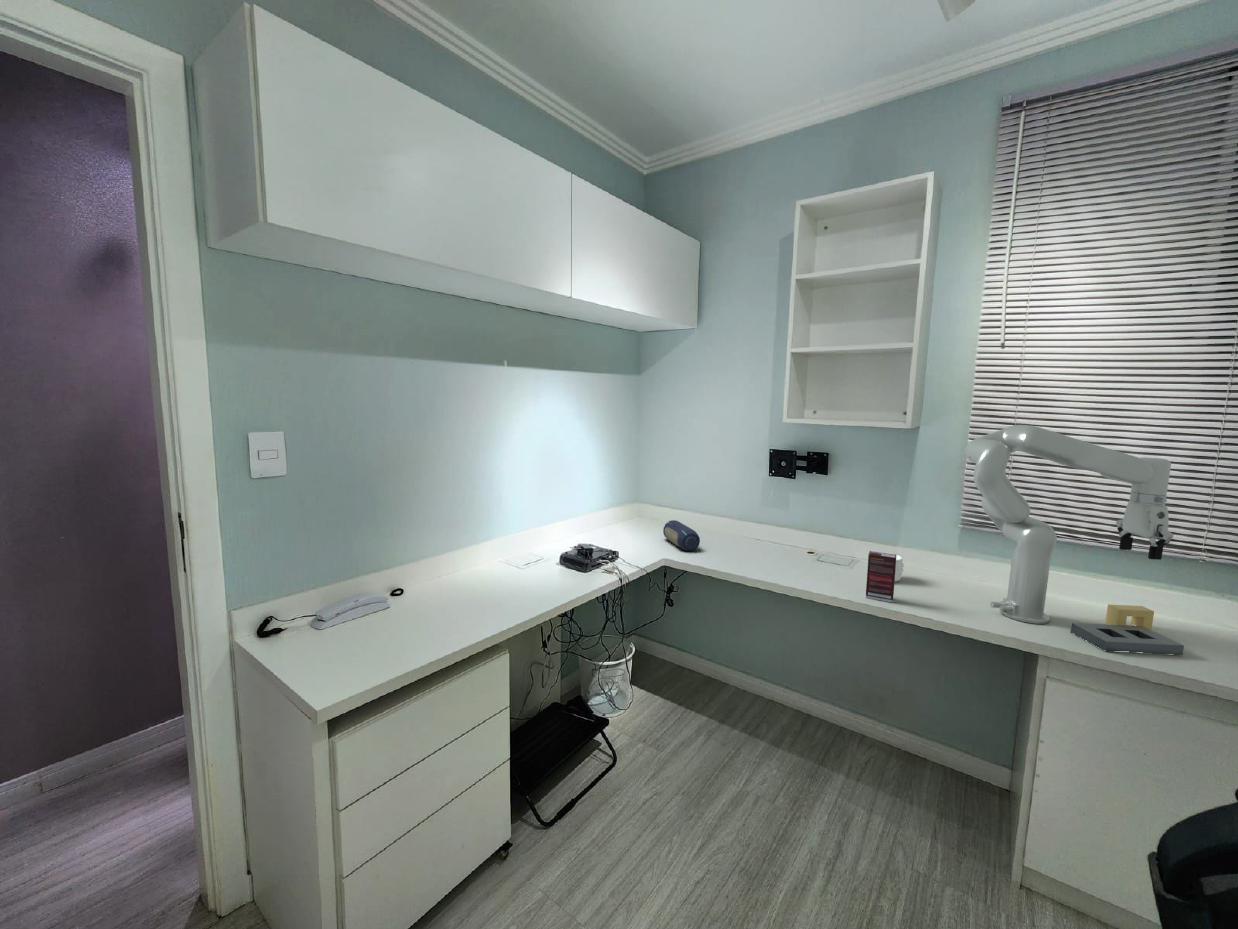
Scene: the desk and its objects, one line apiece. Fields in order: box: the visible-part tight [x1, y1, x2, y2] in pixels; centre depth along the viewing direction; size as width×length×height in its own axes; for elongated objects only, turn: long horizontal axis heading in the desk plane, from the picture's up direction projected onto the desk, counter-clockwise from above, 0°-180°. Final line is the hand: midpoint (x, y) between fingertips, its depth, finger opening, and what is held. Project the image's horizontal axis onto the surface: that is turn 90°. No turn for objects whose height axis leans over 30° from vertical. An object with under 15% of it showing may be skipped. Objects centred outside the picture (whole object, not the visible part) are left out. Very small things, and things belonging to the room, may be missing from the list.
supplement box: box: [865, 550, 897, 603], centre depth 178 cm, size 9×5×16 cm, turn 60°
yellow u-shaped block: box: [1104, 604, 1155, 630], centre depth 159 cm, size 10×4×6 cm, turn 85°
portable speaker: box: [663, 519, 701, 552], centre depth 239 cm, size 25×10×10 cm, turn 17°
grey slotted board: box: [1070, 622, 1185, 656], centre depth 148 cm, size 20×12×3 cm, turn 85°
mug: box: [888, 552, 905, 582], centre depth 197 cm, size 12×10×9 cm
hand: (1139, 554), depth 157 cm, fingers open, 9 cm apart
